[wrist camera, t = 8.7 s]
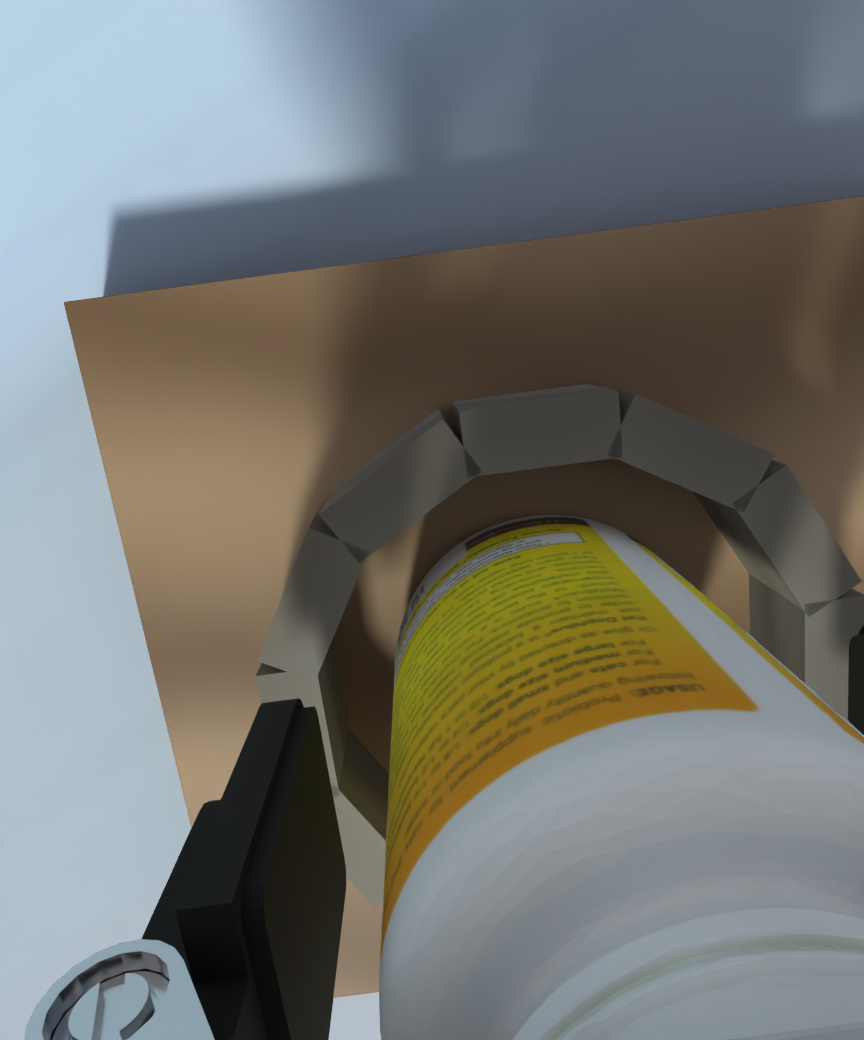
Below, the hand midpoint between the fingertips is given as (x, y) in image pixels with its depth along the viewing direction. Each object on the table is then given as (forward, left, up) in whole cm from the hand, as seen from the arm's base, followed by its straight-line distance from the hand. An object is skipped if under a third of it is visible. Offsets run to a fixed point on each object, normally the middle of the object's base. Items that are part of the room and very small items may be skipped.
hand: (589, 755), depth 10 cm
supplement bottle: (0, 0, -4) cm, 4 cm away
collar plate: (0, 0, -5) cm, 5 cm away
